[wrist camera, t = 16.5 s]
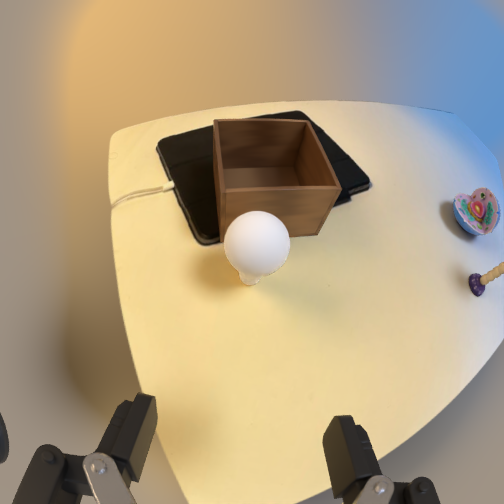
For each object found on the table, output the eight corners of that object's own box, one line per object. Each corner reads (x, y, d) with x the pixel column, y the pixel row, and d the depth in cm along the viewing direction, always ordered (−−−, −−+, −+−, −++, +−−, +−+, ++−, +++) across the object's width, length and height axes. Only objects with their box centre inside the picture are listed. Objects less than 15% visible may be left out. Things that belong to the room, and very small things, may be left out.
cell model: (437, 198, 44) (463, 167, 36) (472, 210, 45) (496, 184, 36) (452, 241, 39) (484, 211, 31) (486, 248, 40) (515, 224, 31)
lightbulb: (243, 312, 30) (253, 272, 21) (213, 271, 32) (210, 216, 23) (285, 284, 32) (311, 235, 23) (254, 246, 34) (267, 187, 25)
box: (220, 242, 34) (220, 192, 26) (213, 169, 40) (213, 119, 32) (317, 235, 36) (342, 189, 28) (294, 167, 42) (308, 120, 34)
